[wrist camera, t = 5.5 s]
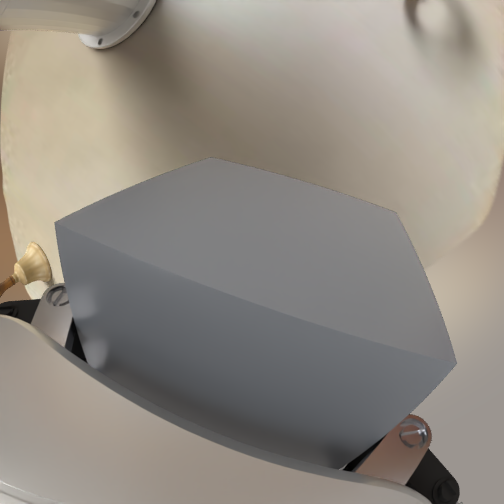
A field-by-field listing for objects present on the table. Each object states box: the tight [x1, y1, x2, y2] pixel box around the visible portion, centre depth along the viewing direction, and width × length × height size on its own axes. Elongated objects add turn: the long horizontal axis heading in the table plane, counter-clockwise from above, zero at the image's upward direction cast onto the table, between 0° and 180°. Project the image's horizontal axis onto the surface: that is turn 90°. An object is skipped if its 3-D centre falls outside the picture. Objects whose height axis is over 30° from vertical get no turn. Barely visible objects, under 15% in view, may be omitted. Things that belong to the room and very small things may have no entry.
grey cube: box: [55, 157, 457, 470], centre depth 9 cm, size 8×8×8 cm
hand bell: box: [0, 242, 52, 297], centre depth 36 cm, size 8×8×16 cm
